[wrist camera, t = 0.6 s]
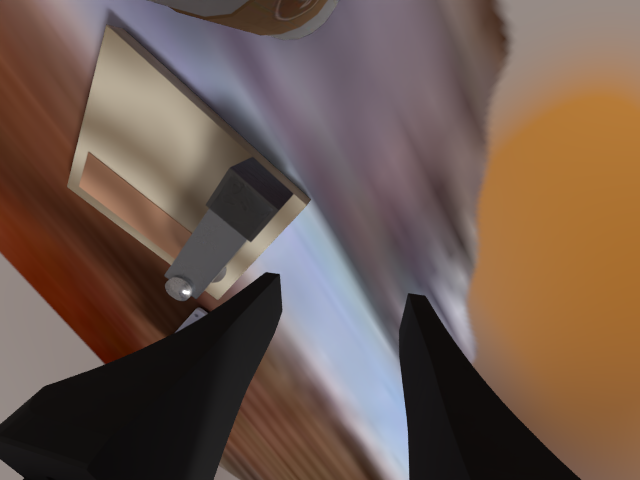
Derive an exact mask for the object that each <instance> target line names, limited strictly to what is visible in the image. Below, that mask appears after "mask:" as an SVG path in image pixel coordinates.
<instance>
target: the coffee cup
mask: <svg viewBox="0 0 640 480" xmlns="http://www.w3.org/2000/svg"><path fill="white" fill-rule="evenodd" d="M148 1H152V2H155V3H158V4H162V5H165V6H168V7H170V8H171V9H173V10H175V11H176V12H179V13H182V14H186V15H189V16H193V17H196V18H200V19H203V20H207V21H211V22H214V23H218V24H222V25H225V26H229V27H232V28H236V29H240V30H243V31H247V32H251V33H254V34H258V35H267V36H271V37H274V38H278V39H282V40H292V39H300V38H302V37H304V36H307V35H309V34H311V33H313V32H314V31H315V30H317V29H318V28H319V27H320V26H321V25H322V24H324V23H325V22H326V20H327V19H328V17H329V16H330V15H331V13H332V12H333V10H334V9H335V8H336V6H337V3H338V1H339V0H148Z"/></svg>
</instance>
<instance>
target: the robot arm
mask: <svg viewBox="0 0 640 480" xmlns="http://www.w3.org/2000/svg"><path fill="white" fill-rule="evenodd" d="M281 313H282V297H281V284H280V274H275V273H268V272H266V273H264V274H263V275H262V276H260V277H259V278H258V279H256V280H255V281H253V282H252V283H251V284H249V285H248V286H247V287H245V288H244V289H243V290H241V291H240V292H239V293H237V294H236V295H235V296H233V297H232V298H230V299H229V300H228V301H226V302H225V303H223V304H222V305H220V306H219V307H217V308H216V309H214V310H213V311H211V312H210V313H207V312H206V311H204V310H203V309H201V308H196V309H195V311H194V312H193V313H192V314H191V315H190V316H189V317H188V318H187V320H186V321H185V322H184V323H183V324H182V325H181V326H180V327H179V329H178V330H177V331H176V332H175V333H174V334H172V335H170V336H168V337H166V338H164V339H162V340H159V341H157V342H155V343H153V344H151V345H149V346H147V347H145V348H143V349H141V350H139V351H136V352H134V353H132V354H129V355H127V356H125V357H122V358H120V359H118V360H115V361H113V362H110V363H108V364H105V365H103V366H100V367H97V368H95V369H92V370H90V371H87V372H84V373H81V374H78V375H75V376H73V377H70V378H67V379H64V380H61V381H58V382H56V383H53V384H49V385H46V386H44V387H43V388H42V389H41V390H39V391H38V392H37V393H36V394H35V395H34V396H32V397H31V398H30V399H29V400H28V401H27V402H26V403H24V404H23V405H22V406H21V407H20V408H19V409H17V410H16V411H15V412H14V413H13V414H12V415H11V416H9V417H8V418H7V419H6V420H5V421H4V422H2V423H1V424H0V459H1V460H2V461H3V462H5V463H6V464H7V465H8V466H10V467H11V468H12V469H14V470H15V471H16V472H17V473H19V474H20V475H22V476H23V477H24V479H23V480H214V477H215V474H216V471H217V468H218V465H219V462H220V459H221V457H222V454H223V451H224V448H225V445H226V443H227V440H228V437H229V434H230V432H231V429H232V426H233V424H234V421H235V418H236V416H237V413H238V410H239V408H240V405H241V403H242V400H243V398H244V395H245V393H246V390H247V388H248V386H249V384H250V382H251V380H252V378H253V376H254V374H255V372H256V370H257V368H258V366H259V364H260V362H261V360H262V358H263V356H264V354H265V352H266V350H267V348H268V346H269V343H270V341H271V339H272V337H273V335H274V333H275V331H276V328H277V325H278V322H279V319H280V316H281ZM399 358H400V366H401V375H402V383H403V391H404V399H405V408H406V416H407V427H408V447H409V480H581V479H580V478H579V477H578V476H577V475H575V474H574V473H573V472H572V471H571V470H570V469H569V468H568V467H567V466H566V465H564V463H562V462H561V461H560V460H559V459H558V458H557V457H556V456H555V455H554V454H553V453H552V452H551V451H550V450H549V449H548V448H547V447H546V446H545V445H544V444H543V443H542V442H541V441H540V440H539V439H538V438H537V437H536V436H535V435H534V434H533V433H532V432H531V431H530V430H529V429H528V428H527V427H526V426H525V425H524V424H523V423H522V422H521V421H520V420H519V419H518V418H517V417H516V416H515V415H514V414H513V413H512V411H511V410H510V409H509V408H508V407H507V406H506V405H505V404H504V403H503V402H502V401H501V399H500V398H499V397H498V396H497V395H496V394H495V393H494V391H493V390H492V389H491V388H490V387H489V386H488V385H487V383H486V382H485V381H484V380H483V378H482V377H481V376H480V375H479V373H478V372H477V371H476V370H475V368H474V367H473V366H472V364H471V363H470V362H469V361H468V359H467V358H466V357H465V355H464V354H463V353H462V351H461V350H460V348H459V347H458V346H457V344H456V343H455V341H454V340H453V338H452V337H451V335H450V334H449V333H448V331H447V330H446V328H445V327H444V325H443V323H442V322H441V320H440V319H439V317H438V316H437V314H436V312H435V311H434V309H433V307H432V306H431V304H430V302H429V301H428V299H427V298H426V296H424V295H417V294H410V293H408V296H407V300H406V305H405V309H404V313H403V317H402V321H401V325H400V330H399Z"/></svg>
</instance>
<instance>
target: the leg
mask: <svg viewBox="0 0 640 480" xmlns="http://www.w3.org/2000/svg"><path fill="white" fill-rule="evenodd" d="M293 194H294V193H292V192H291V191H290V190H289V189H288V188H287V187H286V186H285V185H284V184H282V183H281V182H280V181H279V180H278V179H277V178H276V177H275V176H274V175H272V174H271V173H270V172H269V171H268V170H267V169H266V168H265V167H264V166H263V165H261V164H260V163H259V162H258V161H257V160H256V159H255V158H254V157H251V158H249V159H247V160H244V161H242V162H240V163H238V164H236V165H234V166H232V167H230V168H229V169H228V171H227V172H226V174H225V175H224V177H223V178H222V180H221V182H220V183H219V185H218V186H217V188H216V189H215V191H214V192H213V194H212V195H211V197H210V199H209V200H208V202H207V203H206V206H207V207H208V208H209V209H208V211H207V212H206V214H205V215H204V217H203V218H202V220H201V221H200V223H199V224H198V226H197V227H196V229H195V230H194V232H193V233H192V235H191V236H190V238H189V239H188V241H187V242H186V244H185V245H184V247H183V248H182V250H181V251H180V253H179V254H178V256H177V257H176V259H175V260H174V262H173V263H172V265H171V266H170V268H169V269H168V271H167V272H166V274H165V275H164V276H165V277H167V278H168V279H169V281H167V282H166V284H165V289H166V291H167V293H168V294H169V295H170V296H171V297H173V298H174V299H176V300H179V301H185V300H187V299H188V298H189V297H190V296H192V297H194V298H195V299H197V298H198V297H199V296H200V295H201V294H202V293H203V291H204V290H205V289H206V288H207V287H208V286H209V285H210V284H211V283H212V282H213V280H214V279H215V278H216V277H217V276H218V275H219V274H220V273H221V271H222V270H223V269H224V268H225V267H226V266H227V264H228V263H229V262H230V261H231V260H232V259H233V257H234V256H235V255H236V254H237V253H238V252H239V250H240V249H241V248H242V247H243V246H244V245H245V243H246V242H247V241H249V242H252V241H253V240H254V239H255V238H256V236H257V235H258V234H259V233H260V232H261V231H262V230H263V229H264V228H265V226H266V225H267V224H268V223H269V222H270V221H271V220H272V218H273V217H274V216H275V215H276V214H277V213H278V212H279V210H280V209H281V208H282V207H283V206H284V205H285V204H286V202H287V201H288V200H289V199H290V198H291V197H292V196H293Z"/></svg>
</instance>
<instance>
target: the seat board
mask: <svg viewBox="0 0 640 480" xmlns="http://www.w3.org/2000/svg"><path fill="white" fill-rule="evenodd" d="M251 157H254V158H255V159H256V160H257V161H258V162H259V163H260V164H261V165H263V166H264V167H265V168H266V169H267V170H268V171H269V172H270V173H271V174H272V175H274V176H275V177H276V178H277V179H278V180H279V181H280V182H281V183H282V184H284V185H285V186H286V187H287V188H288V189H289V190H290V191H291V192H292V193H294V194H293V196H292V197H291V198H290V199H289V200H288V201H287V202H286V204H285V205H284V206H283V207H282V208H281V209H280V210H279V212H278V213H277V214H276V215H275V216H274V217H273V218H272V220H271V221H270V222H269V223H268V224H267V225H266V226H265V228H264V229H263V230H262V231H261V232H260V233H259V234H258V235H257V236H256V238H255V239H254V240H253V241H252V242H249V241H247V242H246V243H245V245H244V246H243V247H242V248H241V249H240V250H239V252H238V253H237V254H236V255H235V256H234V257H233V259H232V260H231V261H230V262H229V263H228V264H227V266H226V267H225V268H224V269H223V270H222V271H221V273H220V274H219V275H218V276H217V277H216V278H215V279H214V280H213V282H212V283H211V284H210V285H209V286H208V287H207V288H206V289H205V291H207V292H208V293H209V294H211V295H212V296H213V297H215V298H216V299H217V300H218V299H219V298H220V297H221V296H222V295H223V294H224V293H225V292H226V291H227V290H228V289H229V288H230V287H231V286H232V284H233V283H234V282H235V281H236V280H237V279H238V278H239V277H240V276H241V275H242V274H243V273H244V272H245V271H246V270H247V269H248V267H249V266H250V265H251V264H252V263H253V262H254V261H255V260H256V259H257V258H258V257H259V256H260V255H261V254H262V253H263V252H264V250H265V249H266V248H267V247H268V246H269V245H270V244H271V243H272V242H273V241H274V240H275V239H276V238H277V237H278V236H279V235H280V233H281V232H282V231H283V230H284V229H285V228H286V227H287V226H288V225H289V224H290V223H291V222H292V221H293V220H294V219H295V218H296V216H297V215H298V214H299V213H300V212H301V211H302V210H303V209H304V208H305V207H306V206H307V204H308V203H309V202H310V200H311V199H310V198H308V197H307V196H306V195H305V194H304V193H303V192H302V191H301V190H300V189H299V188H297V187H296V186H295V185H294V184H293V183H292V182H291V181H290V180H289V179H288V178H286V177H285V176H284V175H283V174H282V173H281V172H280V171H279V170H278V169H277V168H276V167H274V166H273V165H272V164H271V163H270V162H269V161H268V160H267V159H266V158H265V157H263V156H262V155H261V154H260V153H259V152H258V151H257V150H256V149H255V148H254V147H252V146H251V145H250V144H249V143H248V142H247V141H246V140H245V139H244V138H243V137H242V136H240V135H239V134H238V133H237V132H236V131H235V130H234V129H233V128H232V127H231V126H229V125H228V124H227V123H226V122H225V121H224V120H223V119H222V118H221V117H220V116H218V115H217V114H216V113H215V112H214V111H213V110H212V109H211V108H210V107H209V106H207V105H206V104H205V103H204V102H203V101H202V100H201V99H200V98H199V97H198V96H197V95H195V94H194V93H193V92H192V91H191V90H190V89H189V88H188V87H187V86H186V85H184V84H183V83H182V82H181V81H180V80H179V79H178V78H177V77H176V76H175V75H173V74H172V73H171V72H170V71H169V70H168V69H167V68H166V67H165V66H164V65H163V64H161V63H160V62H159V61H158V60H157V59H156V58H155V57H154V56H153V55H152V54H150V53H149V52H148V51H147V50H146V49H145V48H144V47H143V46H142V45H141V44H139V43H138V42H137V41H136V40H135V39H134V38H133V37H132V36H131V35H130V34H128V33H127V32H126V31H125V30H124V29H122V28H118V27H114V26H110V25H106V28H105V32H104V36H103V40H102V45H101V49H100V53H99V57H98V61H97V65H96V69H95V74H94V78H93V82H92V86H91V90H90V94H89V98H88V102H87V107H86V111H85V115H84V119H83V123H82V127H81V131H80V136H79V140H78V144H77V148H76V152H75V156H74V160H73V164H72V169H71V173H70V177H69V181H68V185H67V187H68V188H69V189H71V190H72V191H73V192H75V193H76V194H77V195H79V196H80V197H81V198H83V199H84V200H85V201H87V202H88V203H89V204H91V205H92V206H93V207H95V208H96V209H97V210H99V211H100V212H101V213H103V214H104V215H105V216H107V217H108V218H109V219H111V220H112V221H113V222H115V223H116V224H117V225H119V226H120V227H121V228H123V229H124V230H125V231H127V232H128V233H129V234H131V235H132V236H133V237H135V238H136V239H137V240H139V241H140V242H141V243H143V244H144V245H145V246H147V247H148V248H149V249H151V250H152V251H153V252H155V253H156V254H157V255H159V256H160V257H161V258H163V259H164V260H165V261H167V262H168V263H169V264H171V265H172V263H173V262H174V260H175V259H176V257H177V256H178V254H179V253H180V251H181V250H182V248H183V247H184V245H185V244H186V242H187V241H188V239H189V238H190V236H191V235H192V233H193V232H194V230H195V229H196V227H197V226H198V224H199V223H200V221H201V220H202V218H203V217H204V215H205V214H206V212H207V211H208V209H209V208H208V207H207V206H206V203H207V202H208V200H209V199H210V197H211V195H212V194H213V192H214V191H215V189H216V188H217V186H218V185H219V183H220V182H221V180H222V178H223V177H224V175H225V174H226V172H227V171H228V169H229V168H230V167H232V166H234V165H236V164H238V163H240V162H242V161H244V160H247V159H249V158H251Z"/></svg>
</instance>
